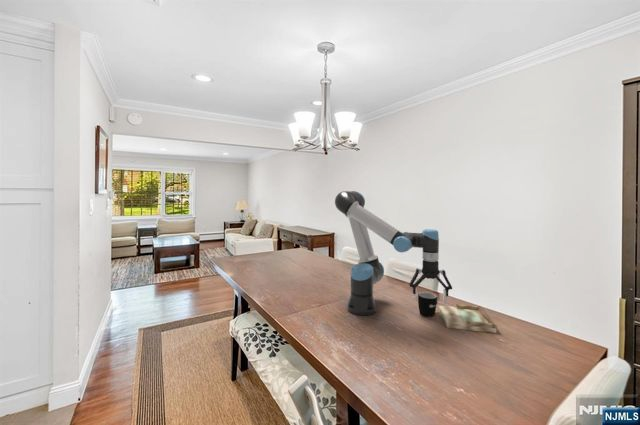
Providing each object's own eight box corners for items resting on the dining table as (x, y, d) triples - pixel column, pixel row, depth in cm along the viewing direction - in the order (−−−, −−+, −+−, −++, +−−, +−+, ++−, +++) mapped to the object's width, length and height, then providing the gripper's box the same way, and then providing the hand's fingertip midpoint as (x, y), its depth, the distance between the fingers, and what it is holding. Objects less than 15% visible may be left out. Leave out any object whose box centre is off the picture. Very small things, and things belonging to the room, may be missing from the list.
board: (447, 327, 124) (447, 320, 124) (438, 309, 145) (438, 302, 145) (496, 332, 120) (496, 325, 119) (480, 313, 140) (480, 306, 140)
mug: (428, 320, 132) (429, 299, 131) (413, 313, 140) (414, 293, 139) (444, 314, 138) (444, 295, 138) (428, 308, 146) (429, 289, 145)
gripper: (405, 260, 136) (405, 302, 138) (459, 262, 131) (458, 306, 132) (404, 257, 144) (404, 296, 145) (455, 259, 138) (455, 300, 139)
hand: (430, 301), depth 138 cm, fingers open, 13 cm apart
